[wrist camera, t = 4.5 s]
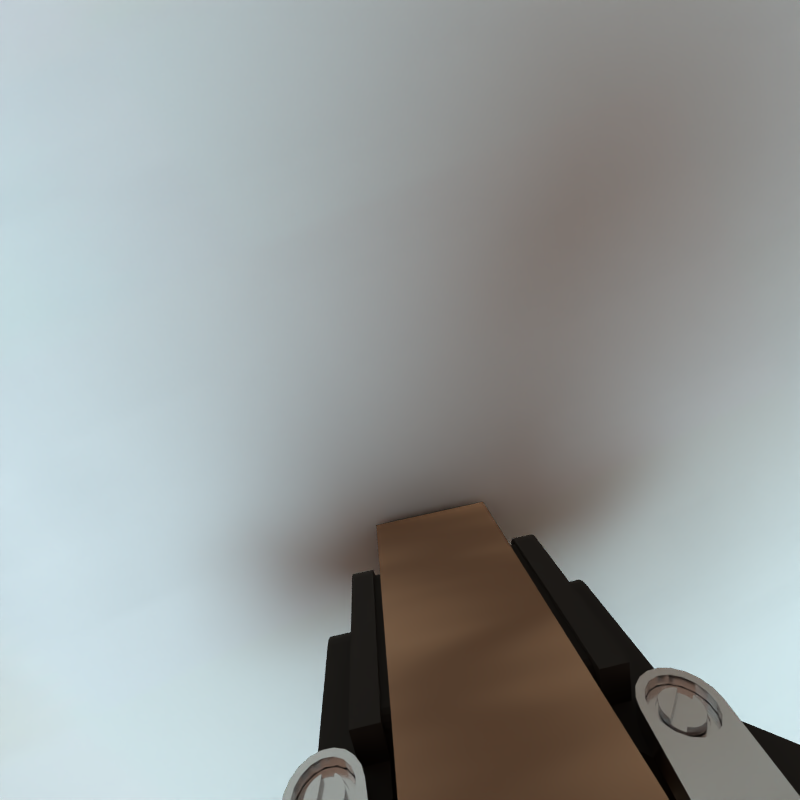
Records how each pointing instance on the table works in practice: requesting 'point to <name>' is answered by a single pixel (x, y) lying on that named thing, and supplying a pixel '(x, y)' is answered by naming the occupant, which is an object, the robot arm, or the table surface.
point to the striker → (490, 675)
